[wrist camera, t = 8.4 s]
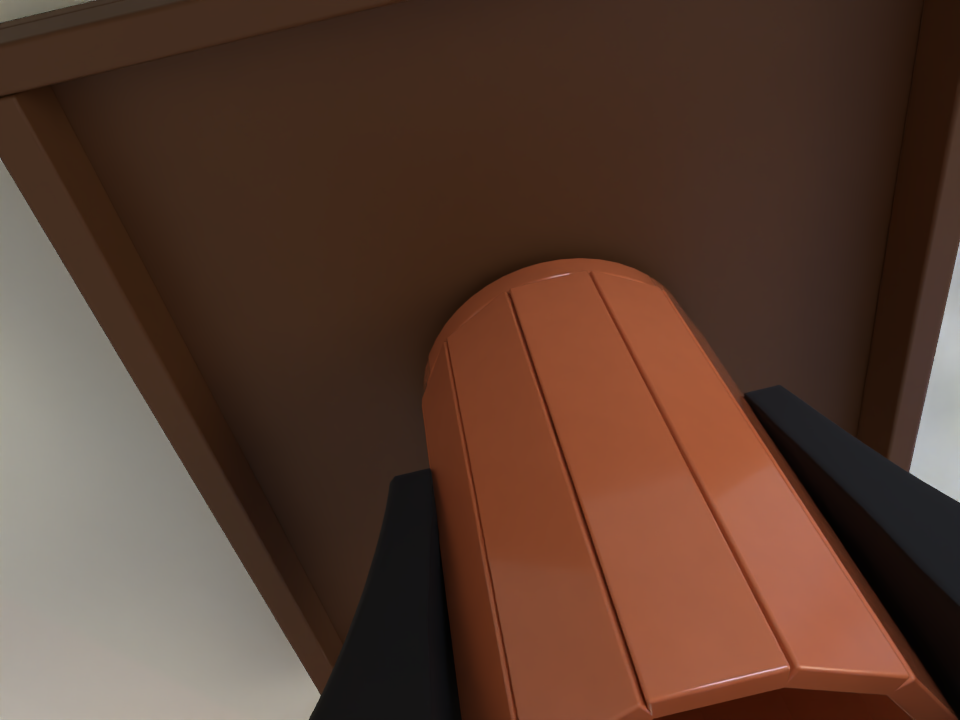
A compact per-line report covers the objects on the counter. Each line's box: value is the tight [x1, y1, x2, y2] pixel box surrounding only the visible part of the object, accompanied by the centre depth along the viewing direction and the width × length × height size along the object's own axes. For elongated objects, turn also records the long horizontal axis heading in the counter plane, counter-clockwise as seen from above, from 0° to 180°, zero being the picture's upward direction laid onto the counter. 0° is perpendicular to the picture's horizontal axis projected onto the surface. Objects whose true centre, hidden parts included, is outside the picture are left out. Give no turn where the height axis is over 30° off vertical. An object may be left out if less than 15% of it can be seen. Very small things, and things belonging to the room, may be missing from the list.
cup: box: [422, 258, 958, 720], centre depth 12 cm, size 5×5×8 cm
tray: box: [0, 0, 960, 694], centre depth 15 cm, size 16×14×2 cm
